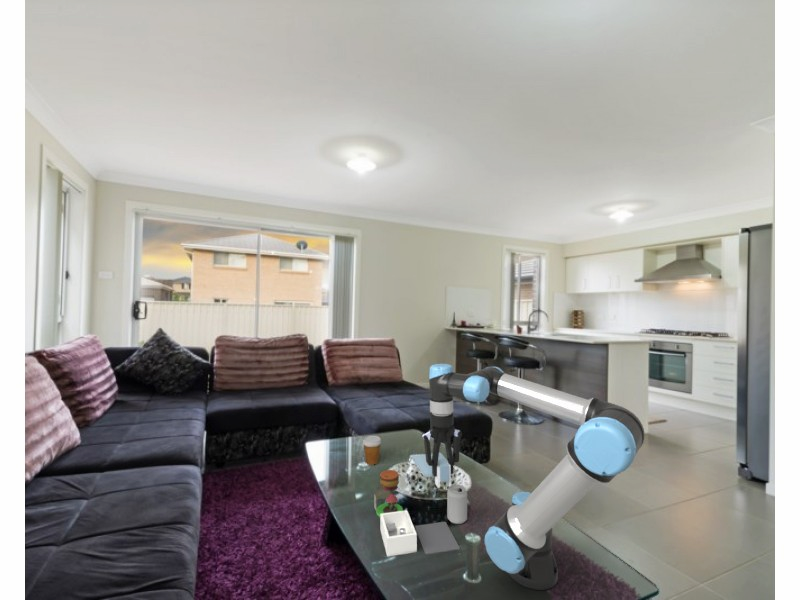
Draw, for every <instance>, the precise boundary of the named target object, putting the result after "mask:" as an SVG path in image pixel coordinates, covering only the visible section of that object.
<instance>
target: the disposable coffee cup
mask: <svg viewBox="0 0 800 600" xmlns="http://www.w3.org/2000/svg"><path fill="white" fill-rule="evenodd" d="M381 444H382V439H381V437H380V436H377V435H368V436H365V437H363V440H362V446H363V449H364V450H363V451H364V460H365V464H366V463H367V465H368V464H369V466H375V465H374V464H376V465H378V464H377V463H379V459H380V451H381V449H380V448H381Z"/></svg>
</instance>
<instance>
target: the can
mask: <svg viewBox="0 0 800 600" xmlns="http://www.w3.org/2000/svg"><path fill="white" fill-rule="evenodd" d="M446 492H447V493H446V495H447V496H446V498H447V499H446V501H447V502H446V503H447V505H446V506H447V507H446V517H447V520H449V521H450V522H451V523H452V524H454V525H462V524H463V523H465V522H466V521H467V520H468V491H466V488H465V486H463V485H461V484H451V486H449V487H448V489H447V491H446Z"/></svg>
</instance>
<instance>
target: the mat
mask: <svg viewBox="0 0 800 600" xmlns="http://www.w3.org/2000/svg"><path fill="white" fill-rule="evenodd" d="M447 523H448V522H446V521H441V522H440V521H439V522H433V523H432V522H431V523H427V524H419V525H417V524H416V525H413V526H414V529H415V531H416V534H417V537H418V539H419V541H420V545H421V546H422V549H423V551H424V554H425V556H429V555H433V554H439V553H440V554H441V553H446V552H452V551H453V552H454V551H459V550H461V547H460V546H459V544H458V542H457V540H456V539H455V538H456V537H455V536H454V534H453V532H452V531H451V529H450V527H449V525H448V524H447Z"/></svg>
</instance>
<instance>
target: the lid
mask: <svg viewBox="0 0 800 600" xmlns="http://www.w3.org/2000/svg"><path fill="white" fill-rule="evenodd" d="M432 454H433V452H431V458H432ZM411 459H412V461H413V462H414V463H415V466H417V468H418V470H419V471H420V472H421V474H422V476H423V477H424V478H429V477H434V476H433V474H432V466H429V465H428V463H427V462H426V455H425V454H415V455H411ZM447 462H448V460H447V457H445V455H443V453H441V452H440V451H439V457H438V466H439V467H440V483H444V482H446V481H449V465H448V463H447ZM455 473H457V471H456V469H455V468H454V467H453V474H455Z"/></svg>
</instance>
